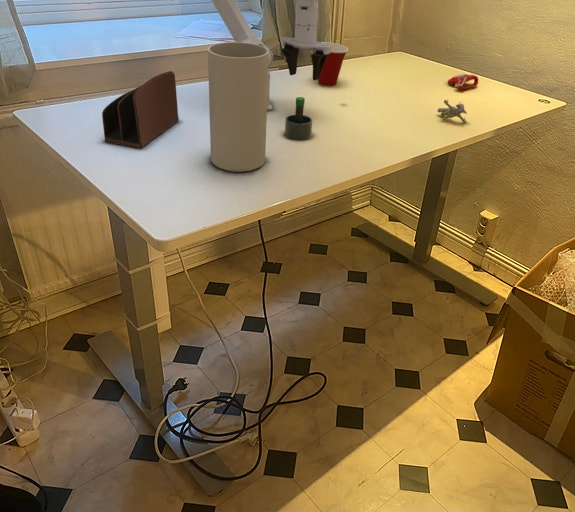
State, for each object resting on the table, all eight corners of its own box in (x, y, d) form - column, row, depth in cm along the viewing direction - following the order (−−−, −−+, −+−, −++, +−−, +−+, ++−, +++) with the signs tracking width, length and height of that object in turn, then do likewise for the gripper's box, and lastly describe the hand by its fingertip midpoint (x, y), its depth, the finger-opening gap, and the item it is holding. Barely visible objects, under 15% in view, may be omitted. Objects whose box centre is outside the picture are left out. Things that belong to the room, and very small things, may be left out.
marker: (294, 134, 142) (296, 99, 137) (293, 131, 143) (295, 96, 138) (303, 134, 142) (305, 99, 137) (301, 130, 144) (303, 96, 139)
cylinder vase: (237, 145, 135) (237, 39, 121) (276, 161, 129) (281, 51, 115) (199, 160, 127) (195, 48, 113) (238, 178, 121) (239, 61, 107)
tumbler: (287, 140, 140) (288, 124, 137) (282, 130, 145) (283, 114, 143) (313, 139, 141) (314, 124, 139) (308, 129, 146) (309, 114, 144)
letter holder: (179, 121, 147) (176, 67, 139) (141, 149, 131) (135, 90, 123) (145, 115, 149) (140, 61, 141) (104, 142, 133) (96, 83, 125)
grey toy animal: (456, 114, 163) (477, 114, 154) (445, 131, 162) (466, 131, 154) (435, 92, 158) (455, 91, 150) (423, 110, 158) (443, 109, 150)
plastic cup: (345, 89, 176) (350, 50, 169) (311, 87, 175) (314, 48, 169) (343, 79, 185) (347, 42, 178) (311, 77, 184) (313, 40, 178)
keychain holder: (442, 77, 188) (470, 70, 188) (443, 90, 190) (471, 83, 190) (456, 79, 177) (486, 72, 177) (458, 93, 179) (487, 86, 179)
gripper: (338, 25, 142) (334, 78, 150) (292, 17, 149) (291, 69, 157) (323, 30, 138) (320, 84, 145) (276, 21, 145) (276, 74, 152)
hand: (304, 77), depth 151 cm, fingers open, 7 cm apart
